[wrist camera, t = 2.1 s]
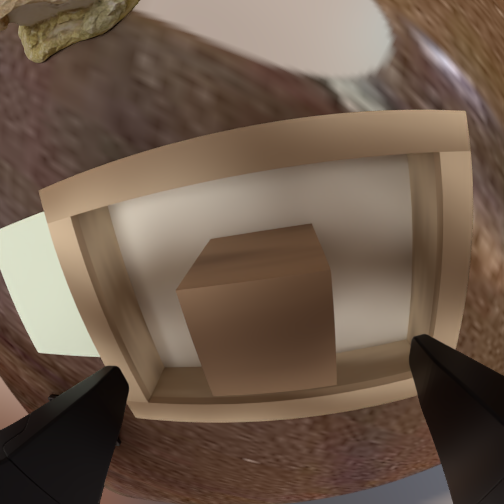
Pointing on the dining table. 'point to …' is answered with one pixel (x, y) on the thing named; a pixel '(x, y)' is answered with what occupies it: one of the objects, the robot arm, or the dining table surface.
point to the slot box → (266, 218)
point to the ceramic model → (60, 22)
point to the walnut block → (262, 312)
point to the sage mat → (42, 289)
